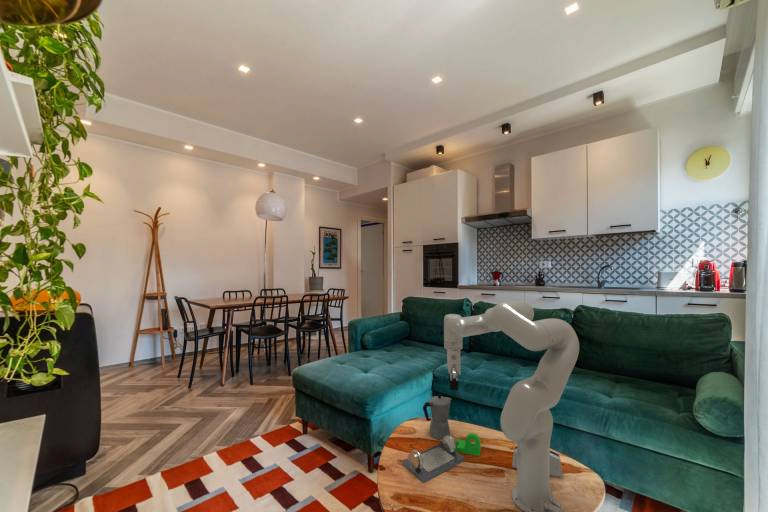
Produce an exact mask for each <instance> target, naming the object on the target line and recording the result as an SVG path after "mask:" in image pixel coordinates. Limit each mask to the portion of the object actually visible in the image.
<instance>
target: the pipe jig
mask: <svg viewBox="0 0 768 512" xmlns="http://www.w3.org/2000/svg"><path fill="white" fill-rule="evenodd" d="M457 446H458V444H457V440H456V437H455V436H454V435H452V434H450V435H446V436H444V438H443V440H442V442H440V443H438V444H436V445H433V446H431V447H429V448H427V449H425V450H421V451H419V450H418V449H413V450H412V451H411V452H410V453H409V454H408V457H406V458H405V459H404V460H402V466H404V468H406V470H407V471H409V472H410V473H412V474H413V475H414V476H415V477H416V478H417V479H418V480H420V481H421V482H422V483H426V482H428V481H430V480H431V479H434V478H435V477H437V476H439V475H441V474H443V473H445V472H446V471H448V470H451V469H452V468H454V467H456V466H458V465H460V464H461V463H463V462H465V456H464V455H462V454H460V452H456V450H455V449H456V448H457Z"/></svg>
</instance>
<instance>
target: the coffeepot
mask: <svg viewBox="0 0 768 512" xmlns="http://www.w3.org/2000/svg"><path fill="white" fill-rule="evenodd" d="M452 400H453V399H452V398H451V397H446V396H442V393H437V395H434V396H431V398H429V399H428V401H426V402H424V404H423V406H422V410H423V413H424V417H425V419H426V421H427V422H429V421H430V425H429V430H428V432H429V436H430V437H431V438H433V439H436V440H440V441H443V438H444V436H446V435H451V432H450V425H449V420H448V417H449V414H450V409H451V401H452ZM428 407H429V408H430V415H431V417H429V412H428Z"/></svg>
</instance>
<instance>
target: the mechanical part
mask: <svg viewBox="0 0 768 512" xmlns="http://www.w3.org/2000/svg"><path fill="white" fill-rule="evenodd" d="M455 439H456V438H455ZM456 440H457V444H458V446H457V448H456V449H455V450H456V452H457V453H462V454H465V455H466V454H467V455H471V456H472V455H473V456H478V457H480V456H481V449H482V444H481V438H480V437H479V436H478V435H477V434H476V433H474V432H469V433H468V434H467V435H466V437H465V440H462V439H456ZM472 440H473V441H472Z"/></svg>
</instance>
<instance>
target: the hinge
mask: <svg viewBox="0 0 768 512" xmlns="http://www.w3.org/2000/svg"><path fill="white" fill-rule="evenodd" d="M511 462H512V465H511V466H512V468H514V469H517V444H515V445H514V449H513V455H512V461H511ZM562 469H563V467H562V462H561V456H560V454H559V452H557V451H556V450H554V449H552V448H550V476H552V477H557V478H561V479H562V478H563V476H564V475H563V470H562Z"/></svg>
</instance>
